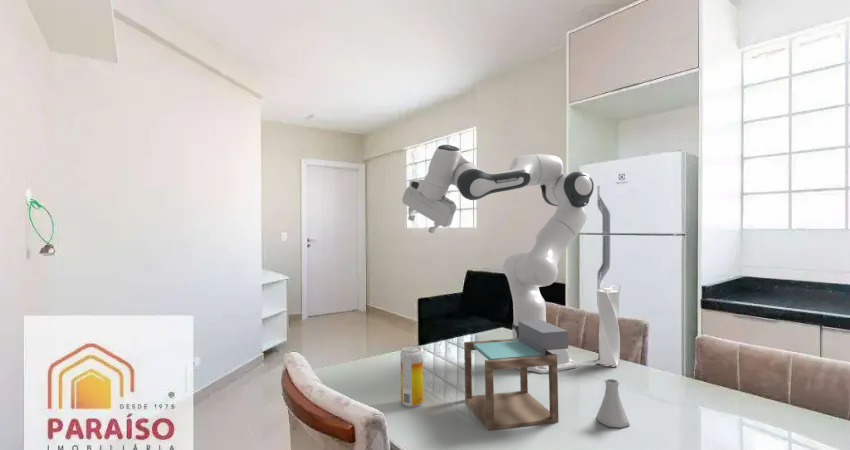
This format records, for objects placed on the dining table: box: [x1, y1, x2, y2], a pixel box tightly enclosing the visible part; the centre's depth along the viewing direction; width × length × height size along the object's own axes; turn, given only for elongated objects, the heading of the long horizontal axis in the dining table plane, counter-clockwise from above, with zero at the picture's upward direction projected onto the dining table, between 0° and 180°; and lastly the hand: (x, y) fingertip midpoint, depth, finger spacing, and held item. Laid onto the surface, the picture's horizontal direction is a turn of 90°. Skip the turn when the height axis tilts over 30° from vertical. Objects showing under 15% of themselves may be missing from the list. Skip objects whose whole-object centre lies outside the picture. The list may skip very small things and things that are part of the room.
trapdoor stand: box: [463, 338, 559, 431], centre depth 107 cm, size 18×18×16 cm
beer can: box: [400, 345, 424, 408], centre depth 111 cm, size 6×6×15 cm
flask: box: [596, 378, 631, 429], centre depth 99 cm, size 7×7×10 cm
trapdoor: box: [473, 320, 569, 360], centre depth 107 cm, size 20×14×6 cm
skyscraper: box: [595, 283, 622, 367], centre depth 142 cm, size 8×8×28 cm
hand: (420, 226), depth 144 cm, fingers open, 8 cm apart
